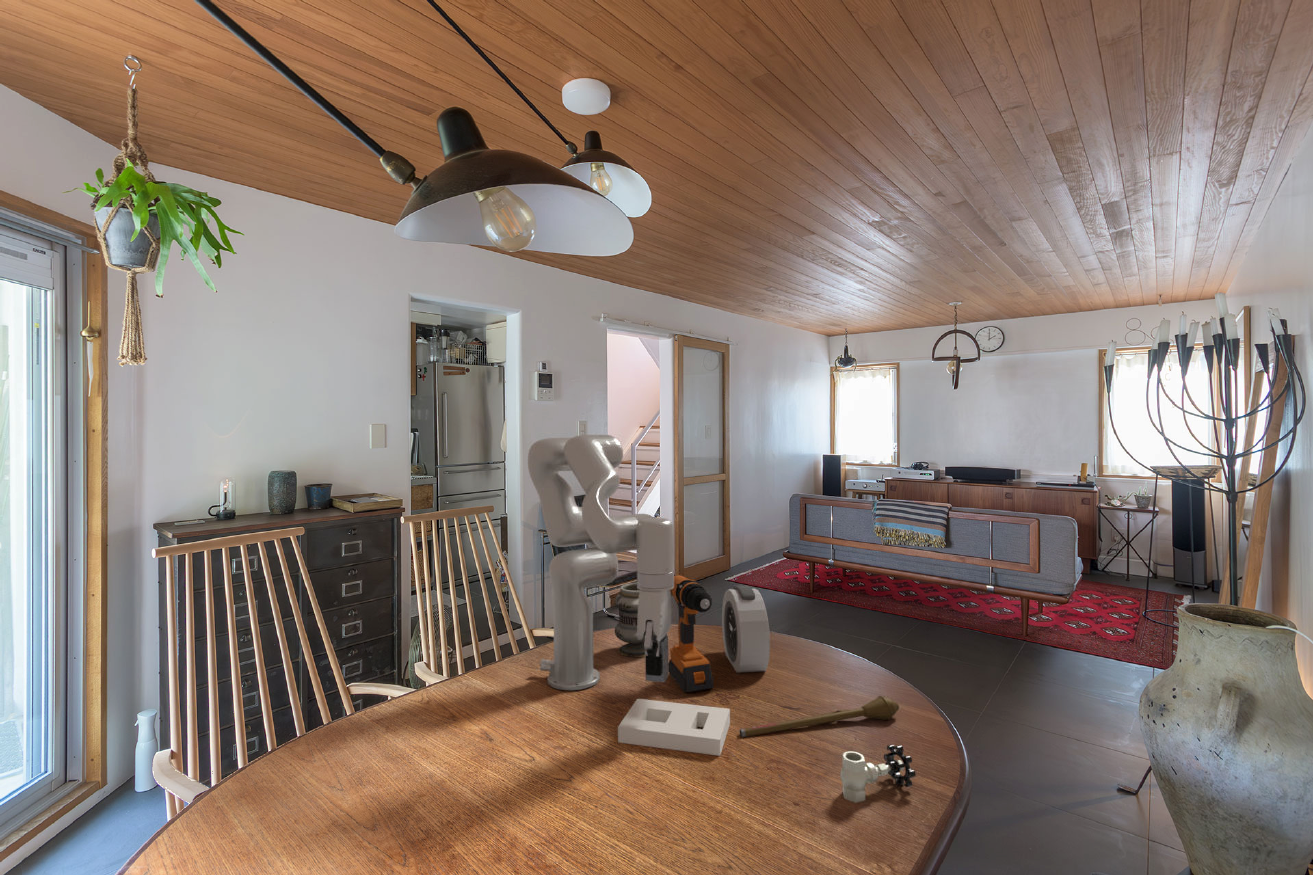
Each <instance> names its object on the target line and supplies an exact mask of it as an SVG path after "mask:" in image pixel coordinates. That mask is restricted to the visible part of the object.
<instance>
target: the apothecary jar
mask: <svg viewBox="0 0 1313 875" xmlns="http://www.w3.org/2000/svg"><path fill="white" fill-rule="evenodd" d="M639 592H640V590H639V589H638V588H637V582H631V583H625V584H623V585H622V586H620V591H619V592H618V594H617V595H616V597H615V599H614V604H615V607H616V608H617V609H618V623H617V624H616V625H615V627H614V635H615V637H616V638H617V639H618V640H620V641H621V642H623V643H625V644H623V645H620V647H618V653H619V654H620V655H622V656H625V657H633V658H642V657H643V658H644V657H645V648H644V643H645V637H644V638H643V639H642V640H638V638H637V620H638V600H639Z"/></svg>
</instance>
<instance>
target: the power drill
mask: <svg viewBox="0 0 1313 875" xmlns="http://www.w3.org/2000/svg"><path fill="white" fill-rule="evenodd" d="M670 592H671V596H673V597H674V601H675V602H676V604H677V607H678V627H677V628H678V644H674V645H673V647H671V648H670V649H669V650H670V651H669V652H670V659H668V667H669V676H671V678H672V679H673V680H674V681H675V683H676V684H677V685H678V687H679V688H680V689H681V691H682V692H683V693H691V692H696V691H703V690H708V689H713V687H714V677H713V673H712V668H711V663H710V661H709V660H708V658H707V657H705V655H704V654H702V653H701V652H700V651H699V649H697V647H696V646H694V640H695V625H696V623H697V619H696V615H697V614H699V613H706V612H708V611H710V609H711V607H712V605H713V598H712V597H711V595H710V593H708V592H707V591H706V589H705V588H704V587H703V586H702V585H701V584H700V583H699V582H698V581H697V580H695V579H689V578H687V577H685V576H683V575H679V574H678V575H674V588H673V589H670Z"/></svg>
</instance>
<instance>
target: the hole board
mask: <svg viewBox="0 0 1313 875" xmlns="http://www.w3.org/2000/svg"><path fill="white" fill-rule="evenodd" d="M730 725H731V709H730V708H726V707H717V706H707V705H696V704H691V703H678V702H671V701H663V700H653V699H645V698H637V699H636V700H635V701H634V703H633V704H632V706H631V707H630V708H629V710H628V712H627V713H626V715H625V716H624V717H623V719H622V720H621V722H620V724H618V725H617V743H621V744H629V745H636V746H643V747H651V748H659V749H664V750H665V749H667V750H674V751H679V752H680V751H682V752H689V753H697V754H704V755H713V756H719V757H720V756H721V754H722V751H723V747H724V744H725V741H726V737H727V735H728V731H729V728H730ZM698 727H699V728H698ZM701 728H702V729H701Z"/></svg>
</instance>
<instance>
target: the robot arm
mask: <svg viewBox="0 0 1313 875" xmlns="http://www.w3.org/2000/svg"><path fill="white" fill-rule="evenodd" d="M527 454H528V455H527V468H528V473H529V476H530V479H531V482H532V484H533V486H534V488H535V490H536V493H537V495H538V498H539V501H540V506H541V512H542V515H543V516H542V517H543V521H544V525H545V531H546V533H547V538H548V540H549V542H550V544H551V545H552V546H555V547H557V548H564V547H565V548H566V547H574V546H580V545H587V547H588V548H580V549H573V550H567V551H563V552H561V553H558V554H556V555H555V556H554V557H552V559H551V560H550V563H549V565H548V575H549V580H550V586H551V591H552V592H551V593H552V601H553V604H552V605H553V659H552V660H550V659H546V658H545V659H543V658H541V659H540V661H539V669H540V671H542V672H546V671H547V672H549V674H548V676H547V683H548V686H550V687H552V688H554V689H556V690H561V691H579V690H584V689H585V690H586V689H588V688H591V687H593V686H595V685H597V684H598V682H599V681H600V680H601V678H600V677H601V675H600V672H599V671H598V670H597V669H596V668H594V611H593V610H594V608H593V604H592V602H591V600H590V599H589V597H588V596H587V595H586V593H585V590H586V589H589V588H593V587H601V586H605V585H607V584H611V583H613V582H614V581H615V579H617V577H618V574H619V560H618V556H617V554H618V553H623V552H630V551H636V583H637V588H638V589H639V590H640V592H639V600H638V620H637V638H638V640H642V639H643V638H644V637H645V643H644V648H645V655H646V671H645V675H646V674H647V675H653V676H661V675H662V655H660V641H661V640H662V639H663V638H664V636H668V632H669V631H670V630H671V628H672V598H671V596H672V595H671V592H670V589H673V588H674V576H675V562H674V561H675V560H674V559H675V558H674V557H675V555H674V554H675V553H674V552H675V551H674V548H675V547H674V544H675V542H674V525H673V522H672V520H670V519H669V518H663V517H654V516H652V515H650V514H647V513H636V514H635V513H634V514H624V515H615V516H608V514H607V513H606V511H605V510H604V508H603V507H602V505H601V503H603V502H604V501H606V500H608V499H610V497H612V496H613V495H614V494H615V493H616V492H617V490H618V489H619V486H620V484H621V479H620V475H619V474H618V472H617V470H616V468H618V467H619V466H620V465H621V464H622V462H623V459H624V450H623V447H622V444H621V442H620V441H619V440H618V439H617V438H616V437H615V436H613V435H611V434H580V435H576V436H572V437H549V438H543V439H540V440H537V441H535V442H533V443H532V444H531V446H530V448H529V450H528V453H527ZM570 471H571V472H572V473H573V475H574V476H575V479H576V480H577V481H578V483H579V485H580V486H581V488H582V490H583V491H584V493H585V495H584V497H583V500H582V504H581V505H582V506H579V505H577V503H576V499H575V495H574V491H573V489H572V487H571V486H570V484H569V483H568V481H566V479H564V478H563V476H561V475H560V474H559V472H570ZM653 636H654V637H657V638H656V639H653ZM653 643H656V646H655V645H653Z"/></svg>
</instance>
